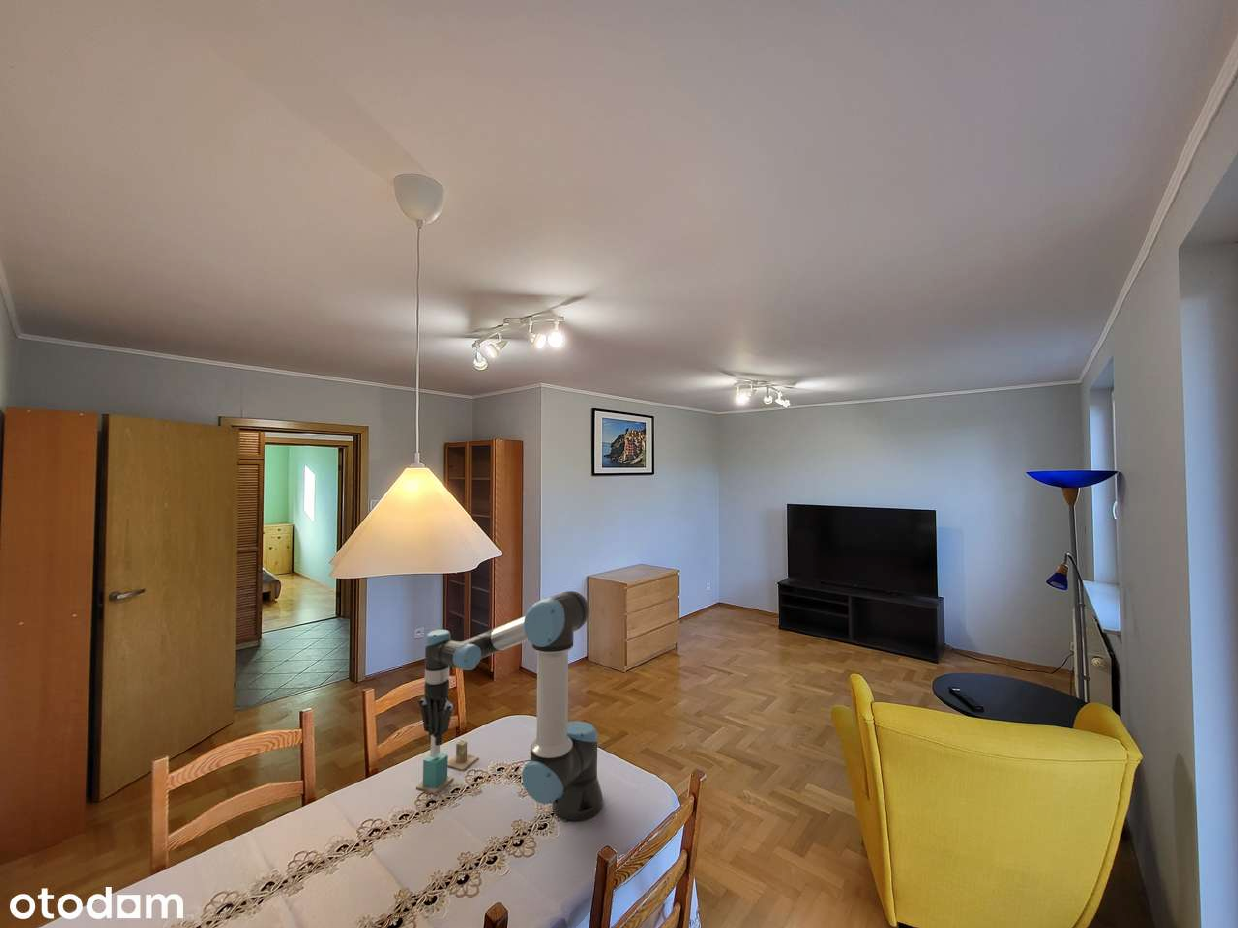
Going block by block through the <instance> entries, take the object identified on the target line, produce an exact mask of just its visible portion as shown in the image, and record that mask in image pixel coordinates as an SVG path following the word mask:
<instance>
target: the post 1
mask: <svg viewBox="0 0 1238 928" xmlns="http://www.w3.org/2000/svg"><path fill="white" fill-rule="evenodd" d="M453 780H454V777H453V776H448V775H447V780H446V781H444V782H443V783H442V784H441V785H440V786H438V787H437V788H436V789H435V788H432V787H428V786H425V785H423V780H422V781H421V782H420V783H418V784H417V785H416V786H415V789H417V790H420V791H422V792H423V791H424V792H427V793H429V794H433V795H437V794H438V793H439V792H441V791H442V790H443V789H444V788H445V787H447V786H448V785H449V784H450V783H451V782H453Z"/></svg>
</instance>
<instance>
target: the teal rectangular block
mask: <svg viewBox="0 0 1238 928" xmlns="http://www.w3.org/2000/svg"><path fill="white" fill-rule="evenodd" d="M448 757H449V756H448V754H447V753H443V752H440V753H439V754H438V755H436V756H435V757H432V756H430V754H429V755H428V756H426V757H425V758H424V759H423V760H422V764H423V765H422V781H423V785H425V786H428V787H432V788H435V789H436V788H437V787H438V786H440V785H441V784H442V783H443V782H444V781H446V780H447V776H448V767H447V762H448Z"/></svg>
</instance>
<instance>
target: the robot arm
mask: <svg viewBox="0 0 1238 928" xmlns="http://www.w3.org/2000/svg"><path fill="white" fill-rule="evenodd" d="M589 617H590V605H589V602H588V600H587V599H586V597H585V596H584V595H582V594H581V593H580V592H577V591H573V590H568V591H567V590H566V591H565V592H564V591H563V592H561V593H558V594H556V595H553V596H550V597H546V598H543V599H541V600H540V599H539V601H537V602H535V603H533V604H532V605H531V606H530V607H529V609H528V610H527V611H526V614H525V615H524V616H521V617H520V618H516V619H514V620H512V621H510V622H508V623H505V624H502V625H499V626H498V627H495V628H492V629H490V630H488V631H485V632H482V633H480V634H479V635H474V636H472V637H470V638H467V639H464V640H461V641H458V640H453V639H452V637H451V632H450V631H449V630H447V629H436V630H432V631H429V632H428V633H427V634H426V637H425V645H424V648H425V649H424V653H425V656H424V681H425V682H424V688H423V689H424V690H423V691H424V697H423V698H421V699H419V700H418V705H419V708H420V711H421V717H422V723H423V724H422V725H423V730H424V732H428V734H429V736H428V737H429V739H428V740H429V741H428V742H429V744H430V754H429V755H430V756H432V757H435V756H436V755H438V754H439V753H441V744H442V743H443V742H442V741H443V735H444V734H445V733H447V732H448V730H449V725H450V722H451V718H452V713H453V710H454V708H455V706H456V705H455V703H454V702H450V701H449V700H450V699H449V695H448V693H449V691H450V667H452V668H456V669H458V670H466V671H467V670H468V671H472V670H473V669H475V668H476V666H477V665H479V663H480V661H481V660H482V659H484V658H486V657H489V656H491V655H493V654H496V653H499V652H501V651H504V650H506V649H509V648H512V647H514V646H517V645H519V644H523V643H525V642H527V641H529V642H530V643H531V648H532V650H533V651H534V652H535V653H536V655H537V656H536V657H537V658H536V659H537V661H536V662H537V663H536V665H537V668H536V738H535V739H534V740H533V741H532V743H531V745H530V761H528V762H527V763H526V764H525V766H524V767H523V770H522V773H521V779H522V784H523V787H524V789H525V792H526V793H527V794H528V795H529V796H530V798H531V799H532V800H534V801H535V802H537V803H539V804H542V805H550V804H552V811H553V812H554V813H555V815H556V816H558V817H559V818H561V819H563V820H565V821H570V822H582V821H586V820H589V819H591V818H593V817H595V816H596V815H597V814H598V813H600V811H601V810H602V808H603V792H602V789H601V785H600V783H599V779H598V741H599V740H598V732H597V731H598V730H597V729H596V727H595V726H594V725H593V724H591V723H589V722H584V721H569V722H568V710H569V709H568V705H569V704H568V701H569V700H568V695H569V694H568V692H569V691H568V688H569V687H568V685H569V684H568V683H569V682H568V681H569V680H568V679H569V678H568V677H569V661H568V660H569V652H570V650H572V648H573V647H574V632H576V631H578V630H580V629H581V628H582V627H584V625H585V624H586V623H587V621H588V619H589Z"/></svg>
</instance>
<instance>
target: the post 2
mask: <svg viewBox="0 0 1238 928" xmlns="http://www.w3.org/2000/svg"><path fill="white" fill-rule="evenodd" d="M455 747H456V749H455V751H456V752H455V755H454V756H453V757H452V758H450V759H449V760H447V768H449V769H454V770H458V771H461V772H464V771H465V770H467V769H468V768H469V767H470V766H472V764H473V763H475V762H476V761H477V760H479V756H477V755H474V754H468V741H466V740H462V739H461V740H460V741H458V742H457V743H456V745H455Z"/></svg>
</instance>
